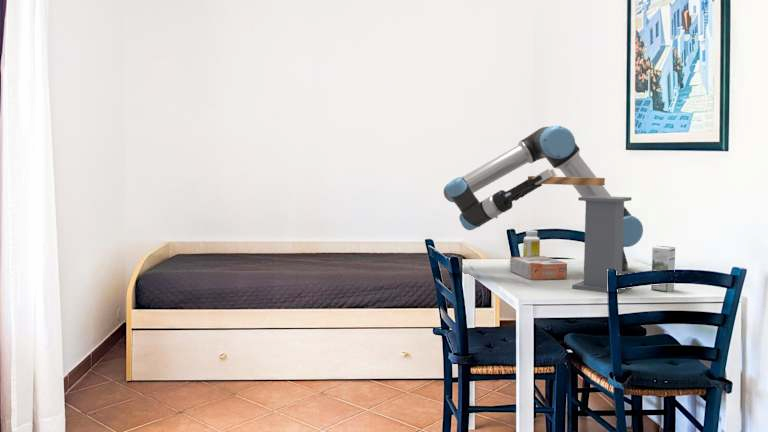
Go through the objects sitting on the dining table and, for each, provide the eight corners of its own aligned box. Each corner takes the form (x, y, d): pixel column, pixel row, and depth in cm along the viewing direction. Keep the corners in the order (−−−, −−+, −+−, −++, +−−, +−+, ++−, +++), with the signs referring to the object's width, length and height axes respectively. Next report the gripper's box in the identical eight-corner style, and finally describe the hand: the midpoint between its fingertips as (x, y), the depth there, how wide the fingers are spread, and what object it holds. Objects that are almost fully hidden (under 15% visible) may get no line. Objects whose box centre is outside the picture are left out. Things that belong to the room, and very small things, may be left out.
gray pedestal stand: (572, 288, 263) (574, 197, 261) (586, 282, 275) (588, 195, 272) (620, 293, 254) (622, 199, 252) (632, 287, 266) (635, 197, 263)
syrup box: (674, 289, 261) (676, 246, 260) (667, 292, 257) (669, 248, 256) (657, 287, 265) (659, 245, 264) (650, 290, 261) (652, 246, 260)
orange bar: (527, 183, 275) (527, 176, 275) (531, 183, 278) (531, 176, 278) (601, 185, 261) (601, 178, 260) (604, 185, 264) (604, 177, 263)
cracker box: (544, 254, 302) (568, 262, 282) (543, 270, 303) (567, 279, 283) (509, 255, 299) (531, 264, 279) (509, 271, 300) (531, 280, 280)
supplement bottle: (542, 261, 329) (542, 230, 328) (535, 263, 323) (536, 231, 322) (527, 259, 333) (527, 229, 332) (520, 261, 327) (521, 230, 326)
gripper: (512, 211, 290) (566, 181, 278) (492, 214, 276) (548, 182, 264) (503, 193, 291) (556, 162, 279) (483, 195, 277) (538, 163, 265)
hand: (552, 172), depth 272 cm, fingers closed on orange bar, 3 cm apart
